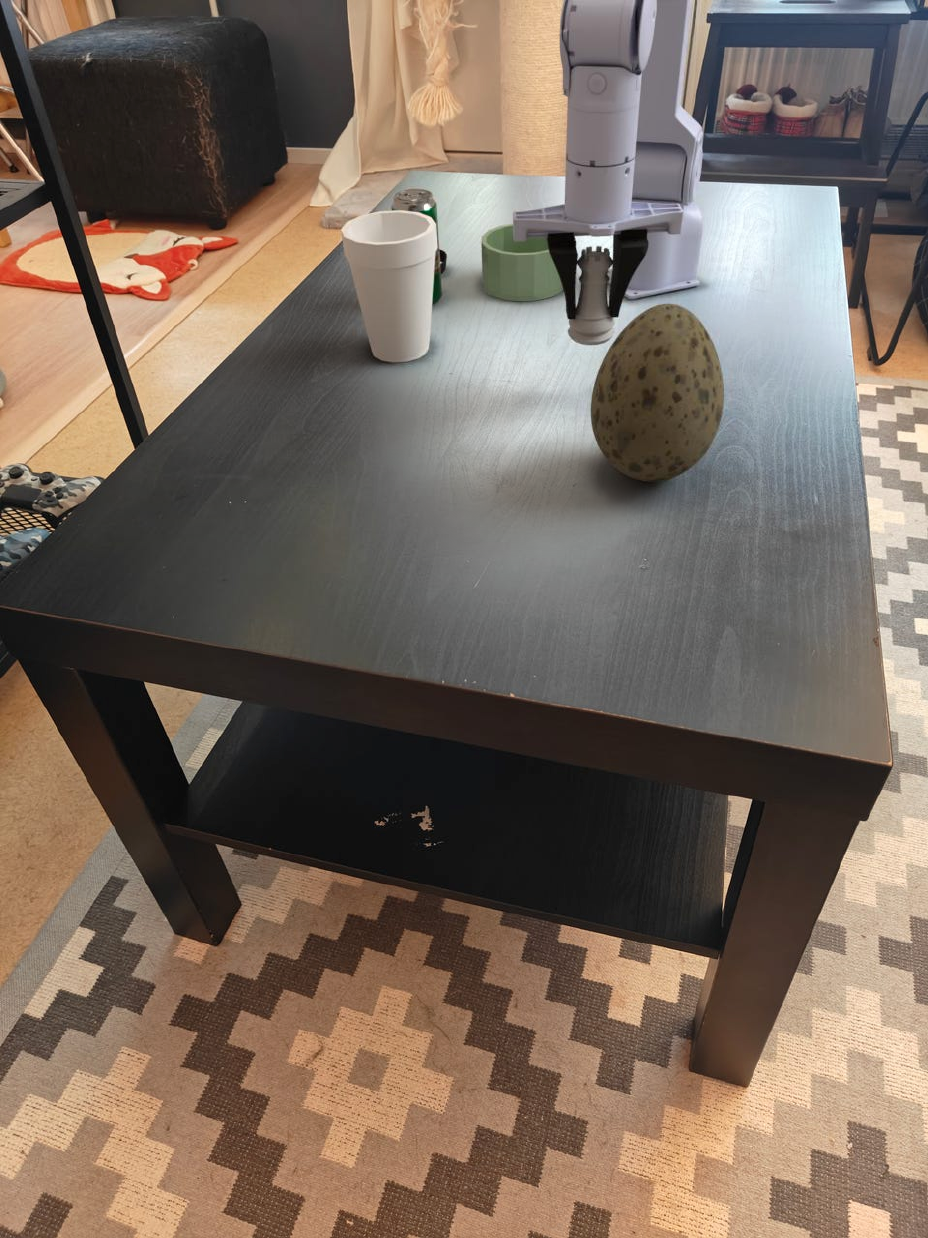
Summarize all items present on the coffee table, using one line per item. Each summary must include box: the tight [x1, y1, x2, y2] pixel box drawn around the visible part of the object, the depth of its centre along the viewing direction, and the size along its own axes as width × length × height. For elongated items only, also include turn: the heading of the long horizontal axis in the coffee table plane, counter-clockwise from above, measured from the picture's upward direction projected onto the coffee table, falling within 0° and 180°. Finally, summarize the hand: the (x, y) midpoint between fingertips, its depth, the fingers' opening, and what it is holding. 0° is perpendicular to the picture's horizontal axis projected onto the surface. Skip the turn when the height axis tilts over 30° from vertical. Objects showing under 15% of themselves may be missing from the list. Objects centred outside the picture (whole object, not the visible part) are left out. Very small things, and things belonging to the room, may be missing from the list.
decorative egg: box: [590, 303, 725, 483], centre depth 74 cm, size 11×11×15 cm
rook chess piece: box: [567, 245, 616, 346], centre depth 82 cm, size 4×4×8 cm
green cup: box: [480, 223, 564, 302], centre depth 107 cm, size 10×10×6 cm
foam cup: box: [340, 210, 438, 363], centre depth 94 cm, size 10×9×13 cm
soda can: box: [390, 188, 443, 306], centre depth 103 cm, size 5×5×12 cm
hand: (591, 313), depth 84 cm, fingers closed on rook chess piece, 3 cm apart
